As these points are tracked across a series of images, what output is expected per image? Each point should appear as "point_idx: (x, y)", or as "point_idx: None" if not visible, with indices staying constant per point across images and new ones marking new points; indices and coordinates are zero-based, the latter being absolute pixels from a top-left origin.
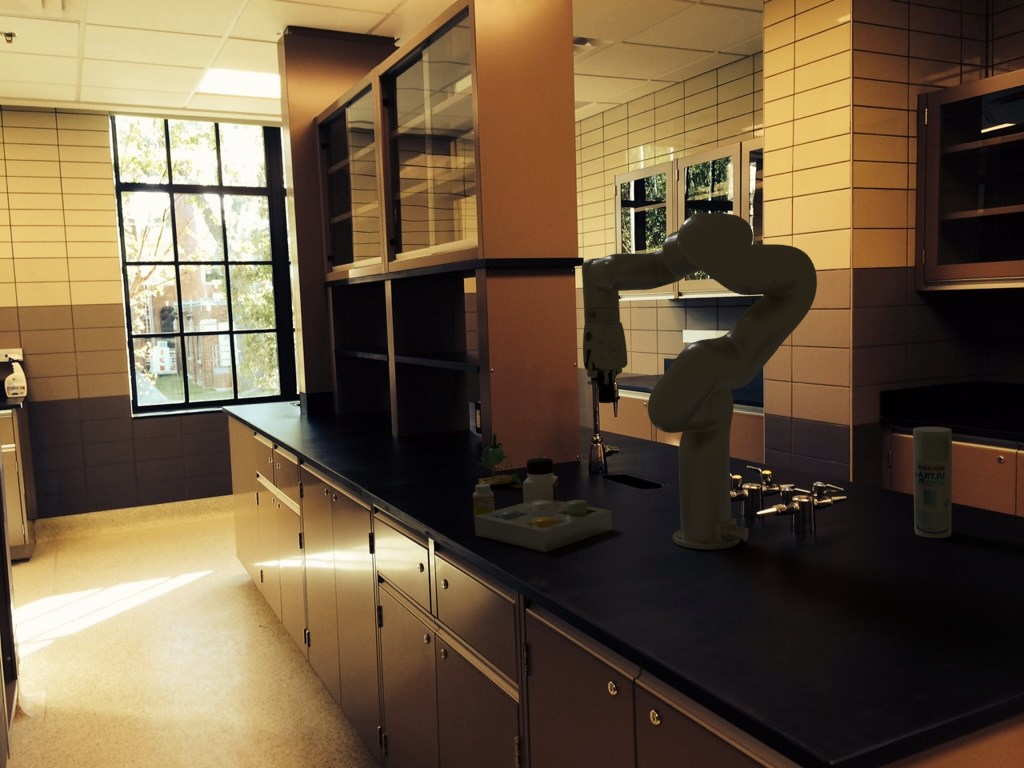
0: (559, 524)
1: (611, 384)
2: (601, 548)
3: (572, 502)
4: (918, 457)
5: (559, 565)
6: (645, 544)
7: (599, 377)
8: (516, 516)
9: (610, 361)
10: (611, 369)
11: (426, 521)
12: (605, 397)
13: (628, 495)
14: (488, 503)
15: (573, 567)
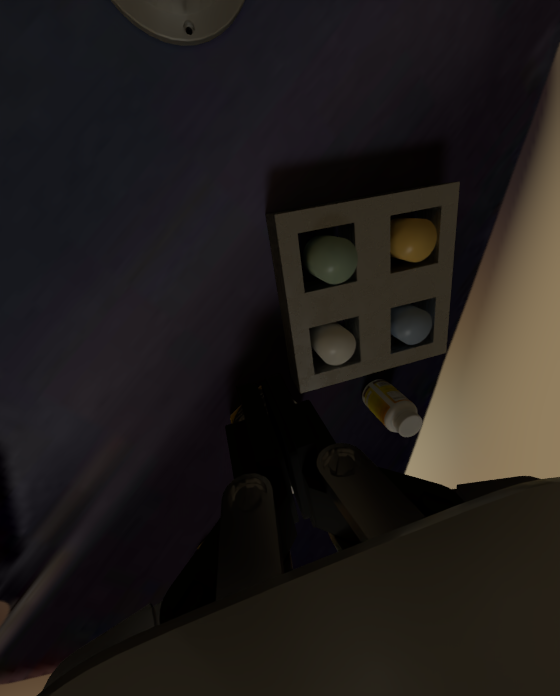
0: (411, 203)
1: (278, 460)
2: (364, 122)
3: (342, 266)
4: None
5: (470, 99)
6: (290, 64)
7: (438, 486)
8: (411, 309)
9: (536, 641)
10: (392, 533)
11: (414, 441)
12: (306, 401)
13: (63, 410)
14: (397, 394)
15: (468, 67)
